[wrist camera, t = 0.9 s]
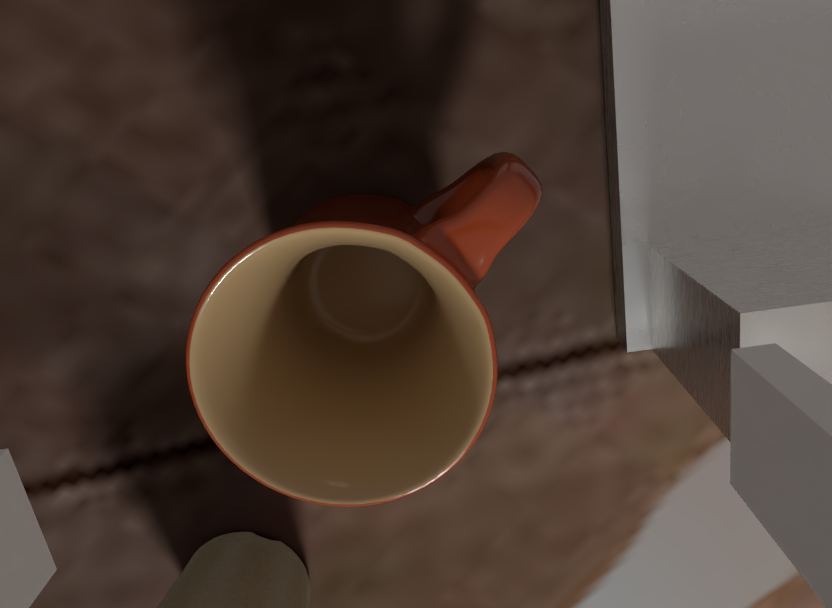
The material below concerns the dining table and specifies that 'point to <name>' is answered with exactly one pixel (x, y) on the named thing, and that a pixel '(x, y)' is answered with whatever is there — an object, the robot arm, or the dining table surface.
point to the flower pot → (241, 576)
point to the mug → (359, 340)
